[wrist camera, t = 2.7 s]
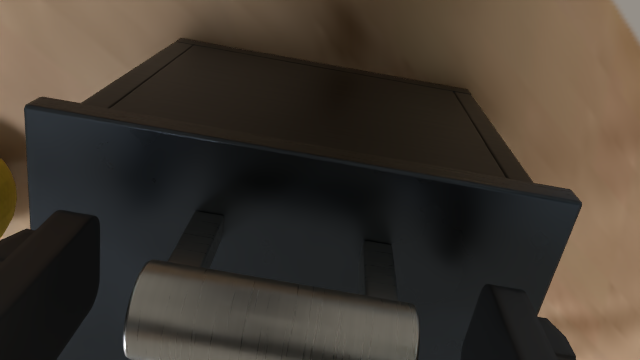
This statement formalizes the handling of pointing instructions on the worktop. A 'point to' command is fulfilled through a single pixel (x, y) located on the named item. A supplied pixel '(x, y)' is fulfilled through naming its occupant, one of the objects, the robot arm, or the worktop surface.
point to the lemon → (6, 197)
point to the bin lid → (281, 240)
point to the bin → (314, 106)
